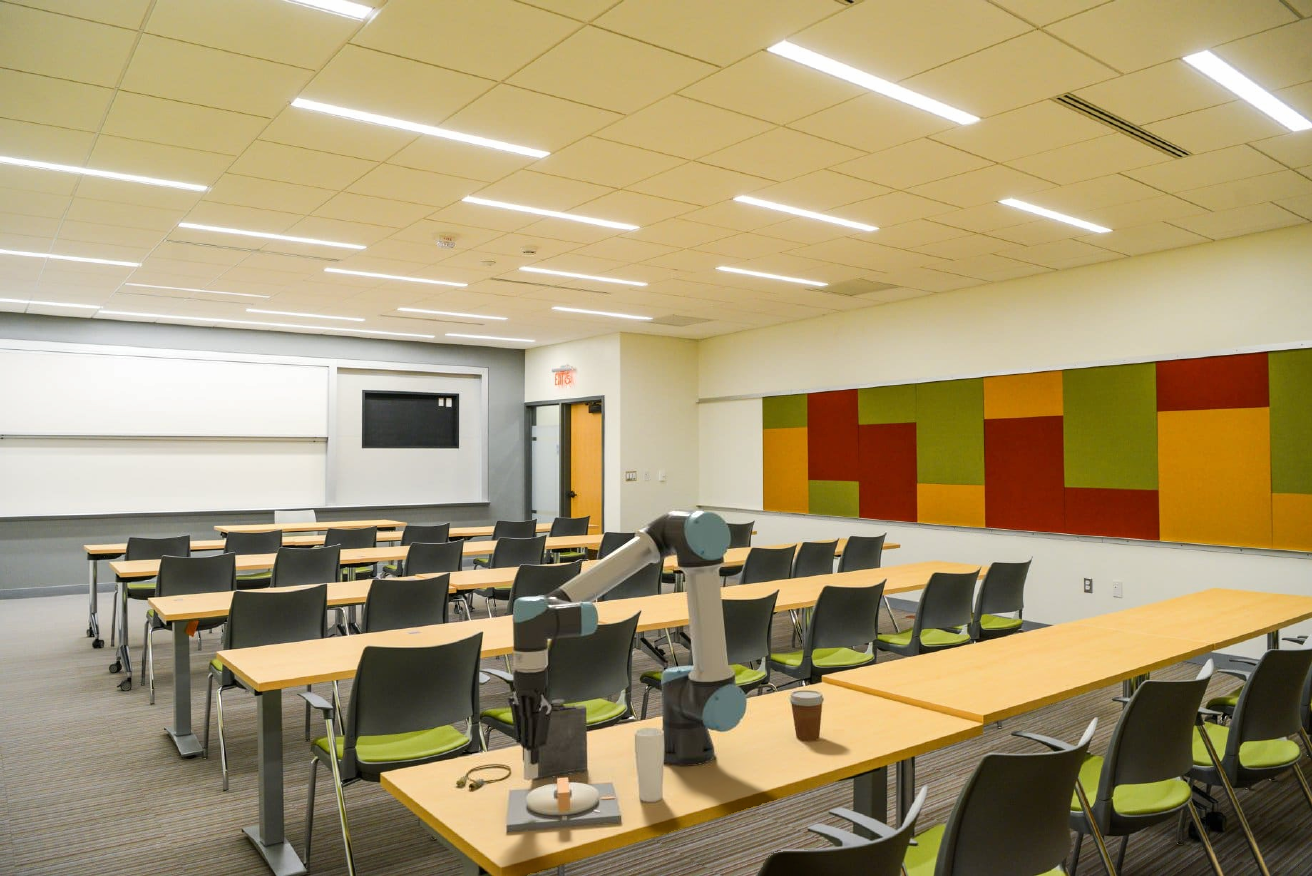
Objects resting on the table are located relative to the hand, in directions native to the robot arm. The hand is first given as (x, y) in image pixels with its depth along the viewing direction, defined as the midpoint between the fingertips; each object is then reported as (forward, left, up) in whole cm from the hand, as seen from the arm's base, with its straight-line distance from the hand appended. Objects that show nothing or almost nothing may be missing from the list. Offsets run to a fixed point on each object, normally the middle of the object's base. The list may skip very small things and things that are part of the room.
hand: (530, 778), depth 183 cm
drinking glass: (-27, -5, -8) cm, 29 cm away
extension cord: (+12, -27, -9) cm, 31 cm away
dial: (-7, -2, -6) cm, 10 cm away
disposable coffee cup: (-76, -40, -8) cm, 86 cm away
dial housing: (-7, -3, -8) cm, 11 cm away
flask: (-7, -26, -8) cm, 28 cm away
